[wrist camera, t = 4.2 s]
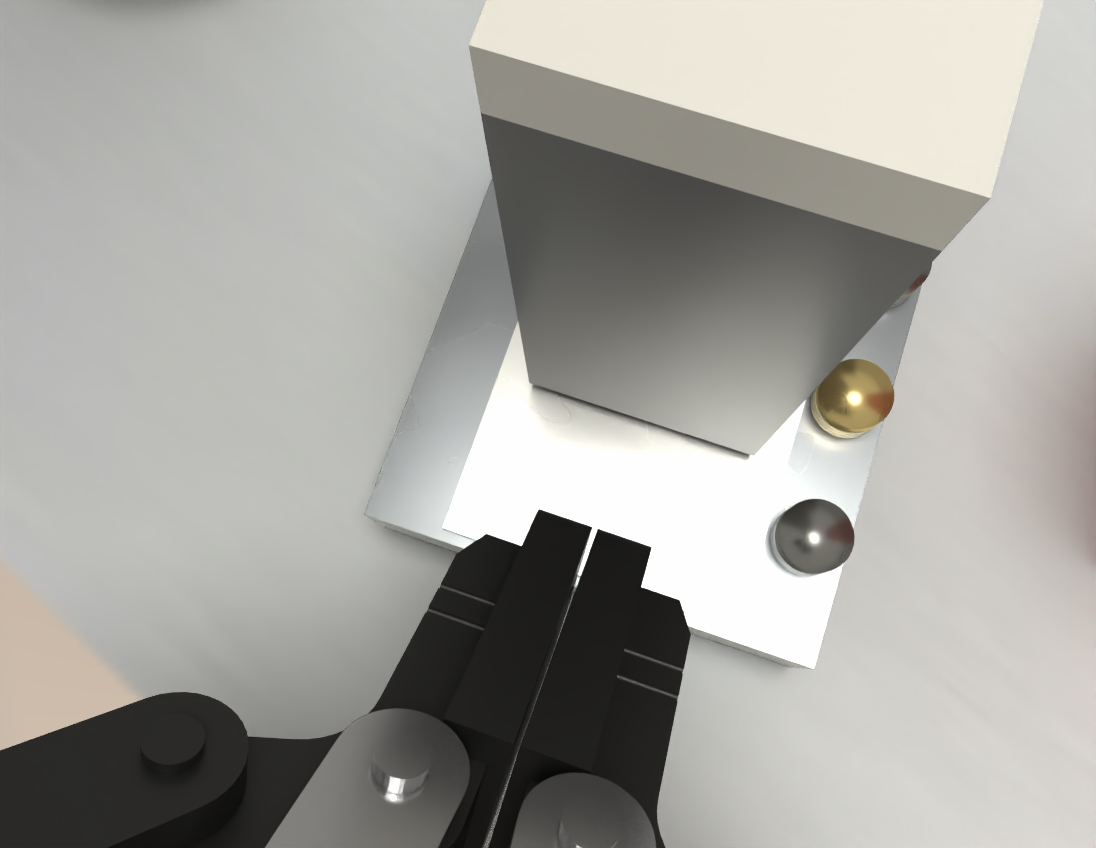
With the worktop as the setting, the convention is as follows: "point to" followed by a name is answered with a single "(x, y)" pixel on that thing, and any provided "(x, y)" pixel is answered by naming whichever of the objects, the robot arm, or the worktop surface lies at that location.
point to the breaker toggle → (732, 185)
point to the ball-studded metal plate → (639, 468)
